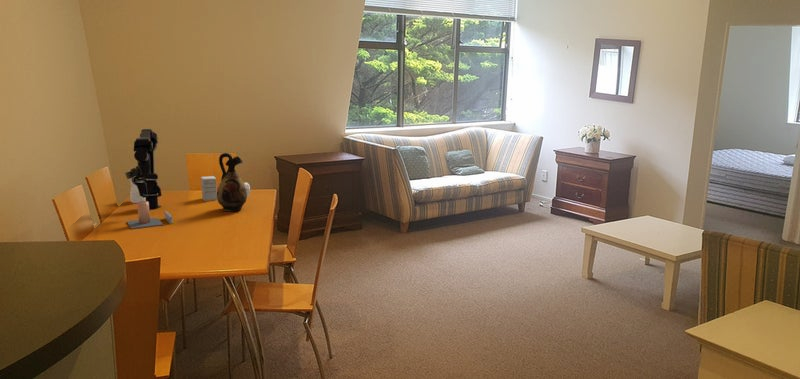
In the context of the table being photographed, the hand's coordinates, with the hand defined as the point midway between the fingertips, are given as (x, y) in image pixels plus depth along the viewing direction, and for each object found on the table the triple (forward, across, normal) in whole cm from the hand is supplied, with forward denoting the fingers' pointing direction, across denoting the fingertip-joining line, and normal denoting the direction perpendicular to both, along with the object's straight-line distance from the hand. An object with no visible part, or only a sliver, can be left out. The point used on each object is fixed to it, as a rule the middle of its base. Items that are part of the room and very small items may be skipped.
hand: (145, 195), depth 290 cm
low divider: (+13, +7, +8) cm, 17 cm away
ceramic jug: (+9, +7, +42) cm, 43 cm away
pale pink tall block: (+13, +5, -2) cm, 14 cm away
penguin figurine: (+1, -14, +59) cm, 61 cm away
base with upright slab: (0, -42, +13) cm, 44 cm away
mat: (+14, +5, -2) cm, 15 cm away
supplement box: (+1, -22, +44) cm, 49 cm away
